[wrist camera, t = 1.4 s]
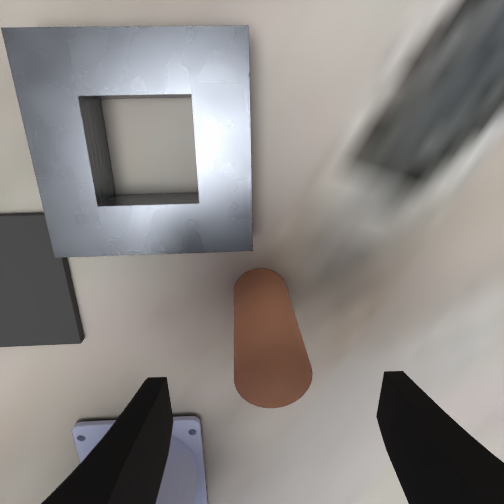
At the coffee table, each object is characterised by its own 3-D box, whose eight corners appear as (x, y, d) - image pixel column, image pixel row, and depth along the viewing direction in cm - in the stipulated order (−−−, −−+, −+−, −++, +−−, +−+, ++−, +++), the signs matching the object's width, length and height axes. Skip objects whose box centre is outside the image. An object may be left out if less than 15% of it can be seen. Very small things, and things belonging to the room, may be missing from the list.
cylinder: (286, 314, 21) (310, 406, 14) (234, 316, 20) (235, 409, 14) (287, 267, 20) (314, 342, 13) (232, 269, 19) (232, 346, 13)
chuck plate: (250, 234, 19) (252, 250, 16) (77, 239, 18) (54, 257, 16) (246, 39, 16) (248, 25, 13) (36, 41, 15) (0, 27, 13)
